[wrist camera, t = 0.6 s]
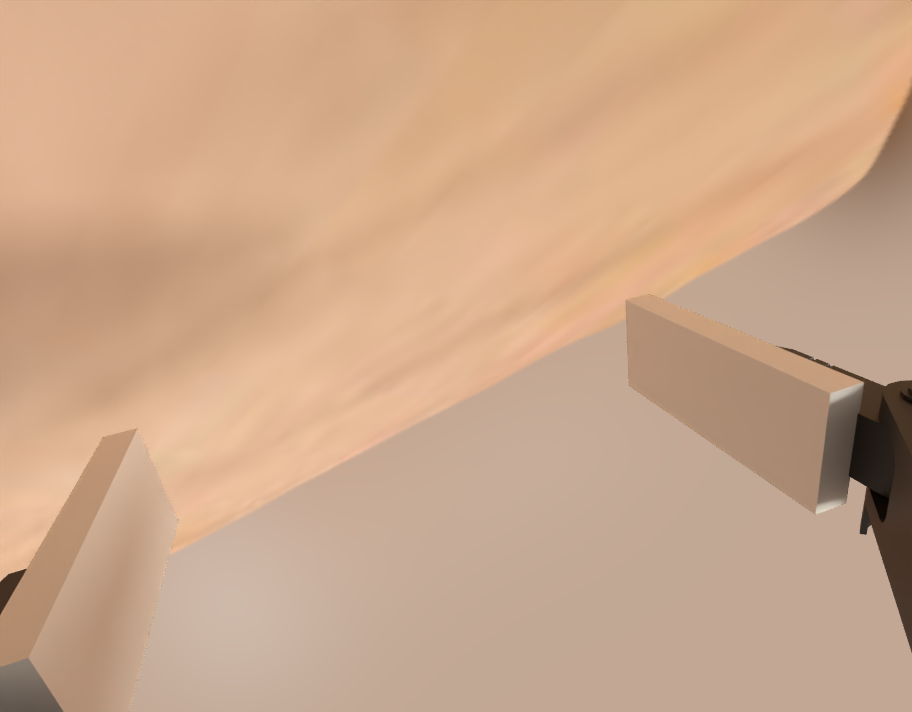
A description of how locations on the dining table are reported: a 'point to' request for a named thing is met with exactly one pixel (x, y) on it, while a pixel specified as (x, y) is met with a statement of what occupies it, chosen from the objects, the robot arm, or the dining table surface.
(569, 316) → the dining table surface
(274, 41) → the dining table surface
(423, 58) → the dining table surface
